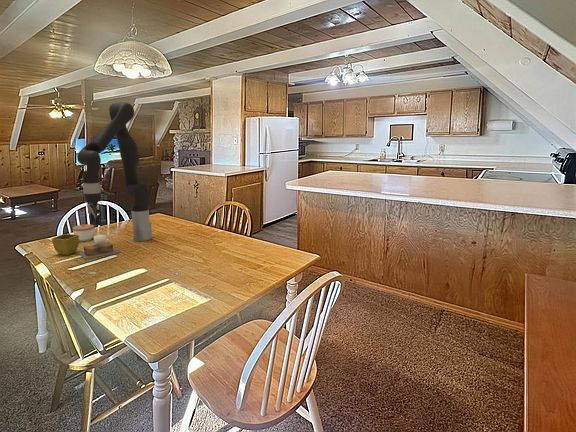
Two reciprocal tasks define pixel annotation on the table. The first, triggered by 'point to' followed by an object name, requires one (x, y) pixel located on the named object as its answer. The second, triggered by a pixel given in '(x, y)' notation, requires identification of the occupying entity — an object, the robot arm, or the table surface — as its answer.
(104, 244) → the lid
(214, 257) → the table surface
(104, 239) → the cream rounded block
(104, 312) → the table surface
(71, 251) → the flower pot
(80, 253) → the mat
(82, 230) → the lidded jar
